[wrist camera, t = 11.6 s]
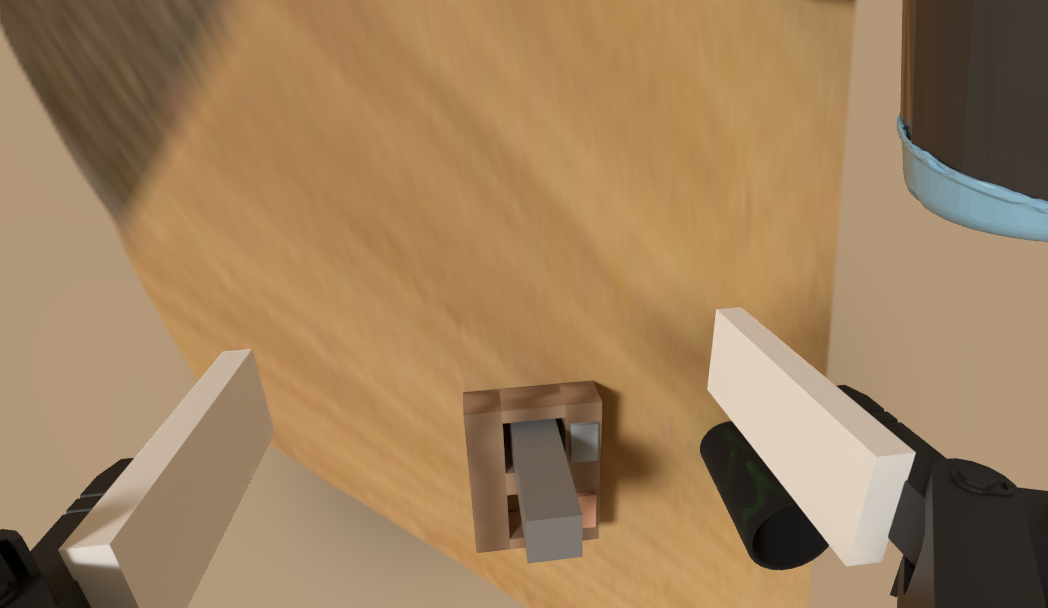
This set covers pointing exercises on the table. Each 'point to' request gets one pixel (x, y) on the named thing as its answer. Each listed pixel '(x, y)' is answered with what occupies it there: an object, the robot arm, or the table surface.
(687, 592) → the table surface
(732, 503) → the cup
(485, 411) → the socket block
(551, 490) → the plug
